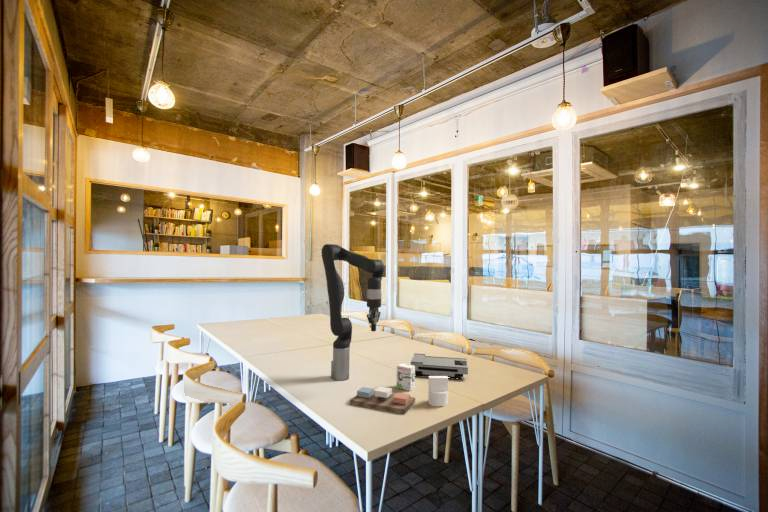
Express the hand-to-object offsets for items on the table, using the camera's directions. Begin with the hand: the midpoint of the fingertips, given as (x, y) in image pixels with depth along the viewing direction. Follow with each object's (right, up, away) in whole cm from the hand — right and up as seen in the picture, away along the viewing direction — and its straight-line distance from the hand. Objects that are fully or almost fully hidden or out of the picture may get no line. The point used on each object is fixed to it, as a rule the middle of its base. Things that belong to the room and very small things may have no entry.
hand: (373, 331), depth 186 cm
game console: (+38, -31, +26) cm, 56 cm away
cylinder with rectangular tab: (+31, -29, -20) cm, 47 cm away
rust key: (+13, -26, -25) cm, 39 cm away
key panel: (+5, -29, -21) cm, 36 cm away
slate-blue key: (-3, -26, -18) cm, 32 cm away
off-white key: (+5, -25, -21) cm, 33 cm away
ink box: (+17, -30, -1) cm, 34 cm away
